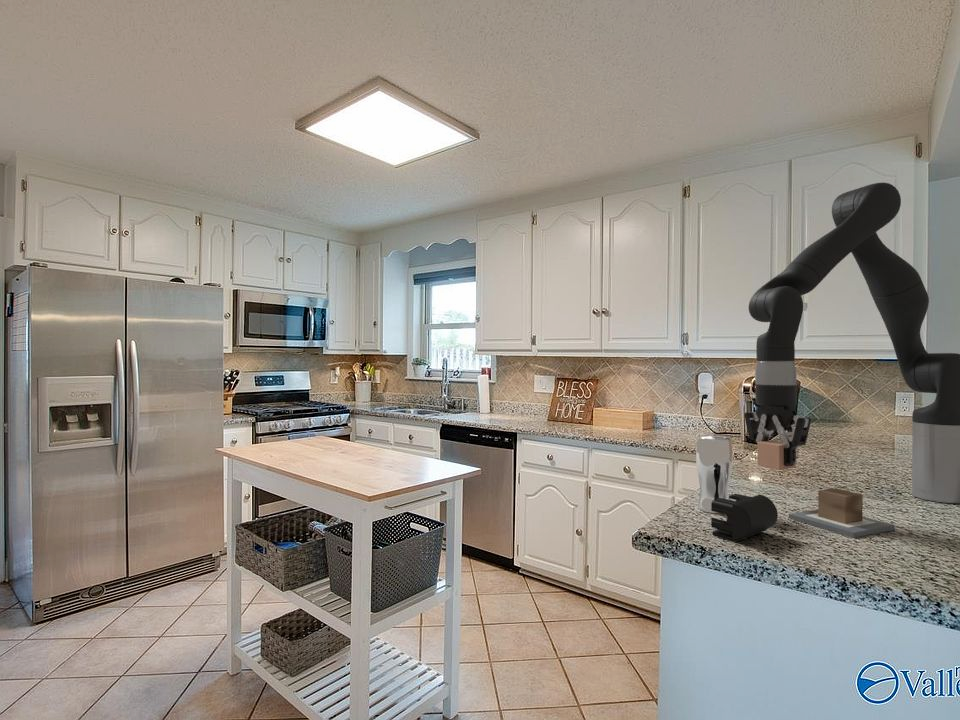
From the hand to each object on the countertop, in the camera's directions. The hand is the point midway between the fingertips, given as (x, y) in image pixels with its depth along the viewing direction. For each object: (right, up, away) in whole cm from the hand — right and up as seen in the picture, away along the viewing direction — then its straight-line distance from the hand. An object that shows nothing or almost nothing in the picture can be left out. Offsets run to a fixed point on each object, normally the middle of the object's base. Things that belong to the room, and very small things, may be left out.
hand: (776, 462), depth 109 cm
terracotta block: (0, -1, 0) cm, 1 cm away
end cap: (-16, -10, -18) cm, 26 cm away
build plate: (+6, -10, -11) cm, 15 cm away
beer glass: (-14, -10, -2) cm, 17 cm away
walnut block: (+6, -9, -11) cm, 15 cm away
